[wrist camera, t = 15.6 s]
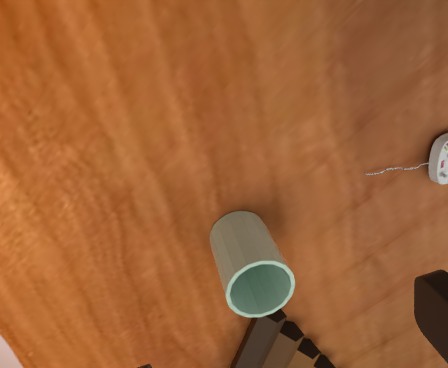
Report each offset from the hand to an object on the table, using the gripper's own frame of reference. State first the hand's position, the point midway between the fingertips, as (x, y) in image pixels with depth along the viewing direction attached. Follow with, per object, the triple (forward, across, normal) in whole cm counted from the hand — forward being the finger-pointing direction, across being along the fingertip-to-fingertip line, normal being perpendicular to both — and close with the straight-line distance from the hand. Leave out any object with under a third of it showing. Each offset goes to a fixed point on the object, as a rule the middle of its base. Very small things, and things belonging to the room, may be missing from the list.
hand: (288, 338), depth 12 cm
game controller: (+28, -23, +13) cm, 39 cm away
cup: (+28, -2, +16) cm, 32 cm away
